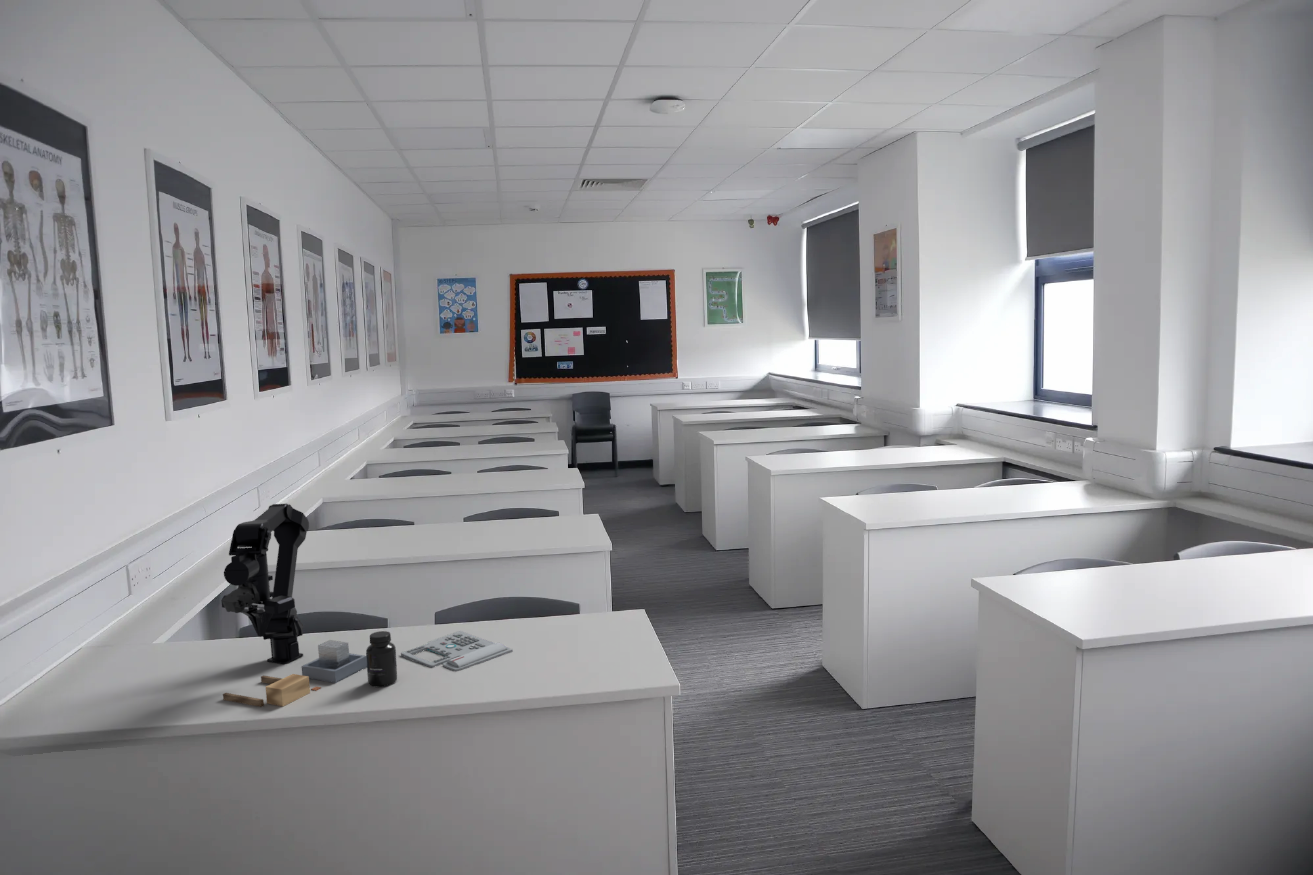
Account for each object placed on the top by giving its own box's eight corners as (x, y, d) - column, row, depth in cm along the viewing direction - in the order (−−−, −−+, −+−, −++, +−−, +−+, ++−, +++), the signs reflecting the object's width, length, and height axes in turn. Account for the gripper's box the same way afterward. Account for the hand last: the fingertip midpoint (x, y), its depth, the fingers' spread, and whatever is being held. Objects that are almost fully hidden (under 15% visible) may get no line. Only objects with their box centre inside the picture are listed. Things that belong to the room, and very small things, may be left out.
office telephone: (513, 644, 224) (450, 667, 209) (514, 653, 224) (450, 678, 209) (459, 625, 239) (397, 646, 224) (460, 634, 240) (397, 656, 225)
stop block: (320, 672, 213) (317, 645, 212) (332, 666, 217) (329, 639, 216) (338, 675, 211) (336, 647, 210) (350, 669, 214) (348, 642, 213)
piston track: (223, 700, 199) (222, 693, 199) (268, 679, 211) (267, 673, 211) (278, 710, 192) (277, 704, 192) (321, 688, 204) (320, 682, 204)
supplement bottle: (370, 690, 202) (366, 641, 200) (366, 680, 208) (362, 632, 206) (400, 683, 205) (396, 635, 204) (395, 674, 211) (391, 627, 210)
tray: (302, 677, 211) (301, 666, 211) (334, 662, 221) (333, 650, 220) (336, 683, 207) (335, 671, 206) (367, 667, 216) (366, 655, 216)
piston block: (267, 703, 196) (265, 686, 195) (294, 689, 203) (292, 673, 203) (283, 706, 194) (281, 689, 193) (310, 692, 201) (308, 676, 201)
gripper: (199, 579, 204) (205, 642, 206) (256, 586, 197) (262, 651, 199) (238, 567, 215) (244, 628, 216) (293, 573, 207) (299, 635, 209)
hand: (261, 635), depth 210 cm, fingers closed
